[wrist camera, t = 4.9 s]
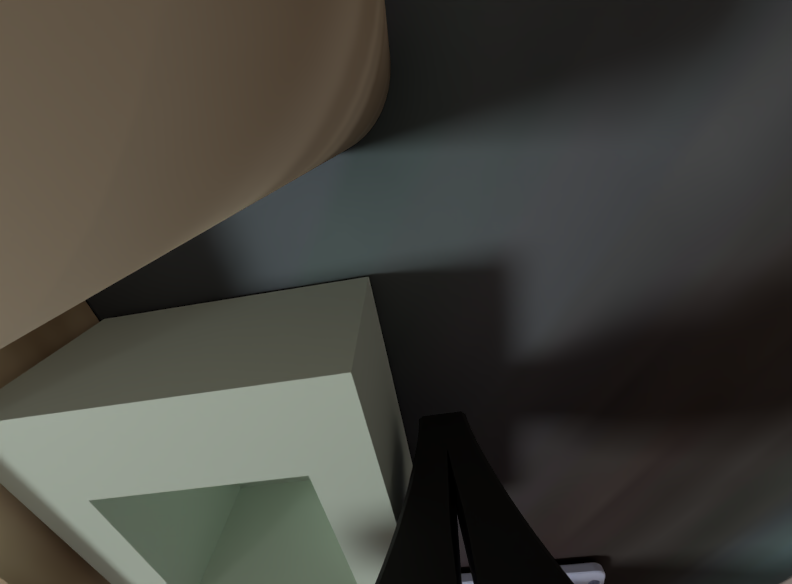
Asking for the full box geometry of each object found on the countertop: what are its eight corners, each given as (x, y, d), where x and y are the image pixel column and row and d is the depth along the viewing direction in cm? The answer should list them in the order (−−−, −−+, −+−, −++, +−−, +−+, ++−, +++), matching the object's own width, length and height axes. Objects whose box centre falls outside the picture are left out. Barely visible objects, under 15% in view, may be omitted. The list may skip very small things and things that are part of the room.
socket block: (420, 497, 14) (428, 629, 10) (234, 516, 14) (180, 647, 11) (368, 276, 9) (351, 372, 6) (103, 319, 10) (-60, 428, 6)
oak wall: (268, 574, 17) (221, 739, 12) (230, 577, 17) (169, 741, 12) (-24, 137, 8) (-575, 159, 3) (-99, 153, 8) (-715, 193, 4)
